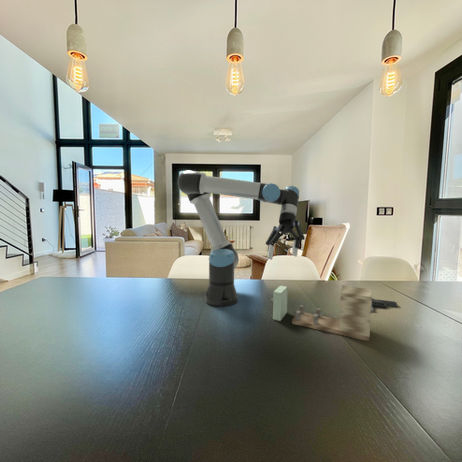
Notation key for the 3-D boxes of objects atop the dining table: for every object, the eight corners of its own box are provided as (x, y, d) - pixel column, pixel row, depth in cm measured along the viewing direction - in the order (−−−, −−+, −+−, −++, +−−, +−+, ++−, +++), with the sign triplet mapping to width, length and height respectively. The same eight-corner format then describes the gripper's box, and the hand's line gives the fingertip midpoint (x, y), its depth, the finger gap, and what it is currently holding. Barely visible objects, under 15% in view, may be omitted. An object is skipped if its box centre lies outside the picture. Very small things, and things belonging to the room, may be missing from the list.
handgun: (407, 312, 98) (394, 299, 109) (361, 306, 101) (353, 295, 113) (406, 318, 98) (393, 305, 110) (360, 312, 102) (352, 300, 113)
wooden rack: (292, 323, 89) (293, 285, 88) (297, 314, 97) (298, 279, 96) (369, 341, 77) (371, 297, 76) (368, 329, 85) (370, 289, 84)
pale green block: (269, 318, 93) (270, 291, 92) (277, 310, 101) (277, 285, 100) (280, 321, 91) (281, 292, 90) (286, 312, 99) (287, 286, 98)
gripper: (315, 213, 106) (311, 257, 97) (273, 224, 124) (265, 262, 115) (306, 204, 102) (300, 249, 93) (263, 218, 121) (255, 256, 112)
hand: (281, 257), depth 104 cm, fingers open, 13 cm apart
